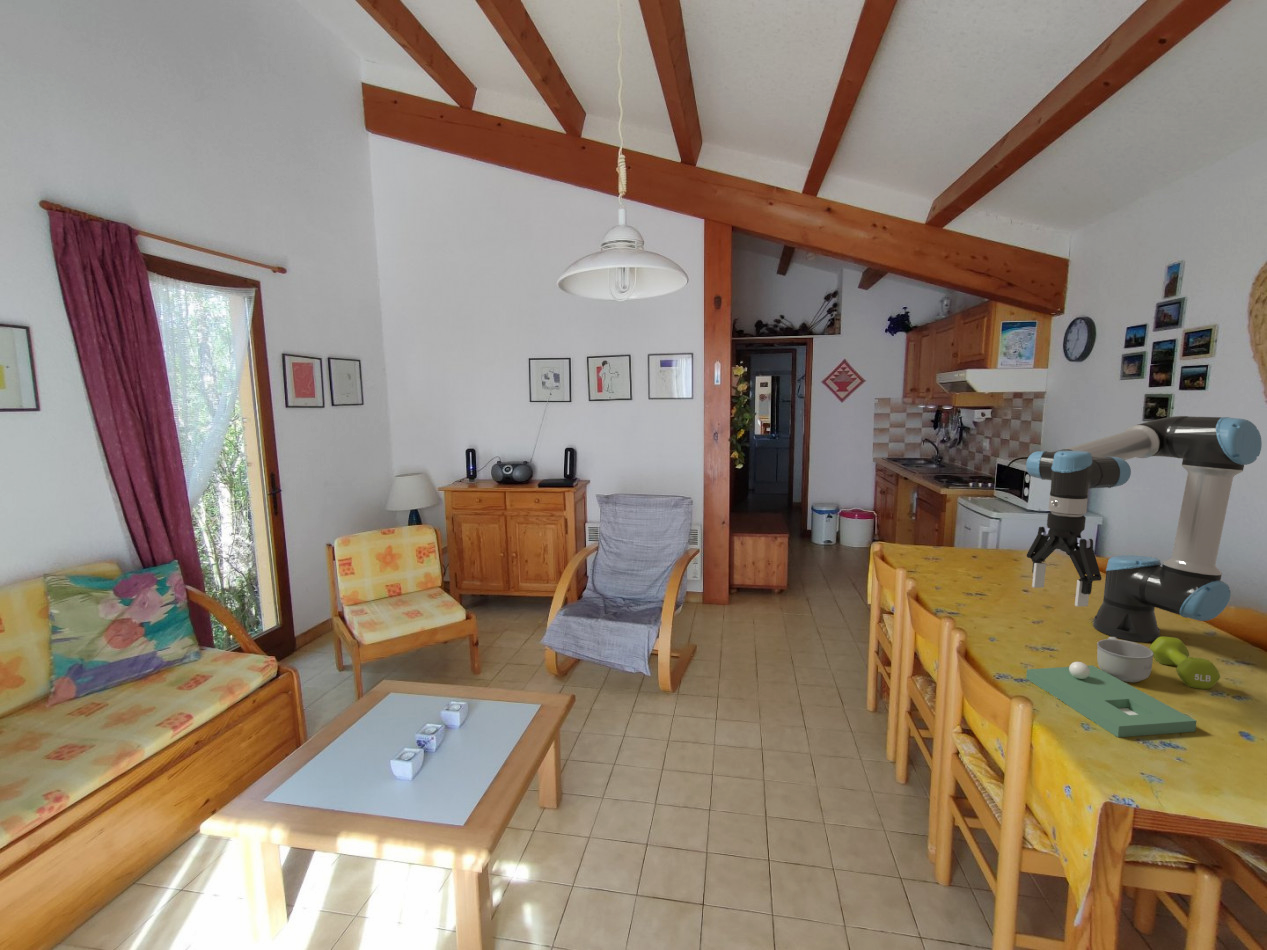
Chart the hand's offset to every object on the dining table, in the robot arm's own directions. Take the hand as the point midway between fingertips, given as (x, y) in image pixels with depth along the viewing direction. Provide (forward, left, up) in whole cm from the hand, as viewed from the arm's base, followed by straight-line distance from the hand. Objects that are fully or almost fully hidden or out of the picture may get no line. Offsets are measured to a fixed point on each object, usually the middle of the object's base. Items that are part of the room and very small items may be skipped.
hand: (1058, 596), depth 145 cm
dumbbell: (-32, +5, -21) cm, 39 cm away
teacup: (-17, +3, -21) cm, 27 cm away
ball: (0, +8, -16) cm, 18 cm away
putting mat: (0, +15, -21) cm, 25 cm away
